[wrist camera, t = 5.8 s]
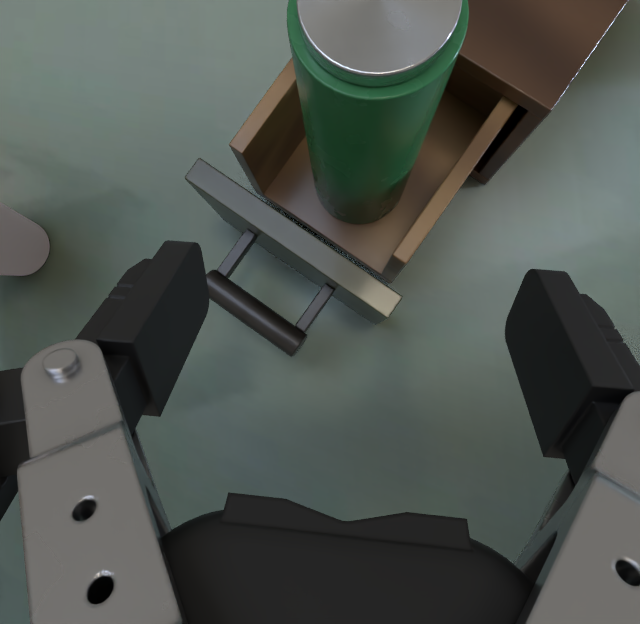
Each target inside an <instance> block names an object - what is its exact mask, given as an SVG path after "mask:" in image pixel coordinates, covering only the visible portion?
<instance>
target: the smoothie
mask: <svg viewBox="0 0 640 624" xmlns="http://www.w3.org/2000/svg"><path fill="white" fill-rule="evenodd" d="M49 250H50V243H49V239H48V236H47V234H46V232H45V231H44V229H43V228H42V227H41V226H39V225H38V224H36V223H35V222H33V221H31V220H30V219H28V218H26V217H24V216H23V215H21V214H19V213H18V212H16V211H14V210H13V209H11V208H9V207H8V206H6V205H4V204H3V203H1V202H0V275H11V276H26V275H30V274H32V273H34V272H36V271H37V270H39V269H40V268H41V267H42V266H43V264H44V263H45V261H46V260H47V257H48V255H49Z"/></svg>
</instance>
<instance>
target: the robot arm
mask: <svg viewBox="0 0 640 624" xmlns="http://www.w3.org/2000/svg"><path fill="white" fill-rule="evenodd" d="M108 296H109V298H106V299H105V300H104V302H103V303H102V304H101V306H100V307H99V308H98V310H97V311H96V312H95V314H94V315H93V316H92V318H91V319H90V320H89V322H88V323H87V324H86V325H85V327H84V328H83V329H82V331H81V332H80V333H79V335H78V336H77V337H76V339H75V340H67V341H62V342H59V343H56V344H53V345H50V346H48V347H46V348H44V349H43V350H41V351H40V352H38V353H37V354H35V355H34V356H33V357H32V358H31V359H30V360H29V361H28V362H27V363H26V365H25V366H24V368H17V369H11V370H4V371H0V521H1V519H2V517H3V516H4V514H5V512H6V510H7V509H8V507H9V505H10V504H11V502H12V500H13V499H14V497H15V495H16V494H17V492H19V503H20V514H21V525H22V536H23V547H24V558H25V569H26V580H27V591H28V602H29V613H30V624H640V366H639V364H638V363H637V361H636V359H635V358H634V356H633V355H632V353H631V351H630V350H629V348H628V347H627V345H626V343H623V339H622V337H621V335H620V334H619V332H618V331H617V329H614V327H615V326H614V324H613V323H612V321H611V319H610V318H609V316H608V315H607V313H606V311H605V310H604V309H603V308H602V307H601V306H600V305H598V304H597V303H596V302H595V301H594V300H592V299H591V298H590V297H589V296H588V295H586V294H579V292H578V290H577V288H576V287H575V285H574V283H573V282H572V280H571V278H570V276H569V275H568V273H566V272H564V271H552V270H539V269H530V270H529V271H528V272H527V273H526V275H525V277H524V279H523V281H522V284H521V286H520V288H519V291H518V293H517V296H516V298H515V300H514V303H513V305H512V308H511V310H510V312H509V315H508V317H507V321H506V326H505V339H506V343H507V346H508V349H509V352H510V356H511V359H512V362H513V365H514V368H515V371H516V374H517V377H518V380H519V383H520V386H521V389H522V392H523V395H524V398H525V401H526V405H527V408H528V411H529V414H530V417H531V420H532V423H533V426H534V429H535V432H536V435H537V438H538V441H539V444H540V447H541V451H542V454H543V457H551V458H561V459H565V460H566V462H567V465H568V468H569V469H568V470H567V472H566V473H565V474H564V476H563V477H562V479H561V481H560V483H559V485H558V487H557V489H556V491H555V493H554V494H553V496H552V498H551V500H550V502H549V504H548V506H547V508H546V510H545V512H544V513H543V515H542V517H541V519H540V521H539V523H538V525H537V527H536V529H535V531H534V532H533V534H532V536H531V538H530V540H529V541H528V543H527V545H526V546H525V548H524V549H523V551H522V552H521V554H520V555H519V557H518V558H517V560H516V561H515V563H514V564H513V563H512V562H510V561H509V560H508V559H507V558H505V557H504V556H502V555H501V554H499V553H498V552H496V551H495V550H493V549H492V548H490V547H488V546H486V545H484V544H482V543H480V542H478V541H476V540H474V539H471V538H470V536H469V530H468V523H467V519H463V518H454V517H445V516H436V515H427V514H418V513H409V512H405V513H399V514H393V515H387V516H380V517H374V518H368V519H361V520H355V521H341V520H338V519H336V518H333V517H330V516H328V515H325V514H323V513H320V512H318V511H315V510H313V509H310V508H307V507H305V506H302V505H300V504H297V503H295V502H292V501H290V500H287V499H282V498H273V497H264V496H254V495H245V494H236V493H228V497H227V500H226V504H225V508H224V510H220V511H215V512H211V513H208V514H204V515H201V516H199V517H196V518H194V519H192V520H189V521H187V522H185V523H183V524H182V525H180V526H178V527H176V528H174V529H173V530H172V528H171V526H170V523H169V521H168V518H167V515H166V513H165V510H164V508H163V505H162V503H161V500H160V497H159V494H158V491H157V488H156V485H155V483H154V480H153V477H152V474H151V471H150V468H149V465H148V462H147V459H146V456H145V453H144V450H143V447H142V444H141V441H140V438H139V435H138V432H137V430H136V426H137V424H138V422H139V420H140V418H141V416H142V415H149V416H159V417H160V416H161V414H162V411H163V409H164V407H165V405H166V403H167V400H168V398H169V396H170V394H171V392H172V390H173V387H174V385H175V383H176V381H177V379H178V376H179V374H180V372H181V370H182V368H183V365H184V363H185V361H186V359H187V357H188V354H189V352H190V350H191V348H192V346H193V343H194V341H195V339H196V337H197V335H198V333H199V330H200V328H201V326H202V324H203V322H204V319H205V317H206V315H207V312H208V307H209V289H208V284H207V279H206V273H205V268H204V262H203V257H202V252H201V248H200V246H199V244H198V243H195V242H182V241H169V240H168V241H165V242H164V243H163V245H162V246H161V247H160V249H159V250H158V252H157V253H156V255H155V256H154V257H153V259H144V260H142V261H141V262H139V263H138V264H136V265H135V266H133V267H131V268H130V269H128V270H127V272H126V273H125V274H124V275H123V277H122V278H121V279H120V281H119V282H118V283H117V287H114V289H113V290H112V291H111V293H110V294H109V295H108Z"/></svg>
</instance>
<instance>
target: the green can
mask: <svg viewBox="0 0 640 624" xmlns="http://www.w3.org/2000/svg"><path fill="white" fill-rule="evenodd" d="M468 20H469V6H468V0H289V2H288V8H287V28H288V35H289V41H290V47H291V53H292V58H293V64H294V70H295V76H296V82H297V87H298V93H299V99H300V105H301V110H302V116H303V122H304V128H305V133H306V139H307V145H308V151H309V157H310V162H311V168H312V174H313V180H314V185H315V190H316V194H317V197H318V199H319V201H320V203H321V204H322V206H323V207H324V208H325V209H326V211H327V212H328V213H330V214H331V215H332V216H334V217H335V218H337V219H339V220H341V221H344V222H347V223H352V224H367V223H371V222H374V221H377V220H379V219H381V218H383V217H385V216H386V215H387V214H389V213H390V212H391V211H392V210H393V209H394V208H395V206H396V205H397V204H398V202H399V200H400V198H401V196H402V194H403V191H404V189H405V186H406V184H407V181H408V179H409V176H410V174H411V171H412V169H413V166H414V164H415V161H416V159H417V156H418V154H419V151H420V149H421V146H422V144H423V141H424V139H425V137H426V134H427V132H428V129H429V127H430V124H431V122H432V119H433V117H434V114H435V112H436V109H437V107H438V104H439V102H440V99H441V97H442V94H443V92H444V89H445V87H446V84H447V82H448V79H449V77H450V74H451V72H452V69H453V67H454V64H455V62H456V59H457V57H458V54H459V52H460V49H461V47H462V44H463V42H464V39H465V35H466V32H467V27H468Z"/></svg>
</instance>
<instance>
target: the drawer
mask: <svg viewBox="0 0 640 624" xmlns="http://www.w3.org/2000/svg"><path fill="white" fill-rule="evenodd" d="M517 106H518V104H517V103H515V102H513V101H512V100H510V99H509V98H507V97H505V96H504V95H502V94H500V93H499V92H497V91H496V90H494V89H492V88H491V87H489V86H488V85H486V84H484V83H483V82H481V81H479V80H478V79H476V78H475V77H473V76H471V75H470V74H468V73H467V72H465V71H463V70H462V69H460V68H459V67H457V66H455V65H454V67H453V69H452V72H451V74H450V77H449V79H448V82H447V84H446V87H445V89H444V92H443V94H442V97H441V99H440V102H439V104H438V107H437V109H436V112H435V114H434V117H433V119H432V122H431V124H430V127H429V129H428V132H427V134H426V137H425V139H424V141H423V144H422V146H421V149H420V151H419V154H418V156H417V159H416V161H415V164H414V166H413V169H412V171H411V174H410V176H409V179H408V181H407V184H406V186H405V189H404V191H403V194H402V196H401V198H400V200H399V202H398V204H397V205H396V206H395V208H394V209H393V210H392V211H391V212H390V213H389V214H387V215H386V216H385V217H383V218H381V219H379V220H377V221H374V222H371V223H367V224H352V223H347V222H344V221H341V220H339V219H337V218H335V217H334V216H332V215H331V214H330V213H328V212H327V211H326V209H325V208H324V207H323V206H322V204H321V203H320V201H319V199H318V197H317V194H316V190H315V185H314V180H313V174H312V168H311V162H310V157H309V151H308V145H307V139H306V133H305V128H304V122H303V116H302V110H301V105H300V99H299V93H298V87H297V82H296V76H295V70H294V64H293V58H291V59H290V61H289V62H288V64H287V65H286V66H285V68H284V69H283V71H282V72H281V73H280V75H279V76H278V77H277V79H276V80H275V82H274V83H273V84H272V86H271V87H270V88H269V90H268V91H267V93H266V94H265V95H264V97H263V98H262V99H261V101H260V102H259V104H258V105H257V106H256V108H255V109H254V111H253V112H252V113H251V115H250V116H249V117H248V119H247V120H246V122H245V123H244V124H243V126H242V127H241V128H240V130H239V131H238V133H237V134H236V135H235V137H234V138H233V140H232V141H231V142H230V144H229V146H230V147H231V149H232V151H233V153H234V154H235V156H236V158H237V160H238V161H239V163H240V165H241V167H242V169H243V170H244V172H245V174H246V176H247V177H248V179H249V181H250V183H251V184H252V186H253V188H254V189H255V191H256V193H258V194H259V195H261V196H262V197H264V198H265V199H267V200H268V201H270V202H271V203H273V204H274V205H275V206H277V207H278V208H280V209H281V210H283V211H284V212H286V213H287V214H289V215H290V216H292V217H293V218H295V219H296V220H297V221H299V222H300V223H302V224H303V225H305V226H306V227H308V228H309V229H311V230H312V231H314V232H315V233H316V234H318V235H319V236H321V237H322V238H324V239H325V240H327V241H328V242H330V243H331V244H333V245H334V246H336V247H337V248H338V249H340V250H341V251H343V252H344V253H346V254H347V255H349V256H350V257H352V258H353V259H355V260H356V261H358V262H359V263H360V264H362V265H363V266H365V267H366V268H368V269H369V270H371V271H372V272H374V273H375V274H377V275H378V276H380V277H381V278H382V279H384V280H385V281H387V282H388V283H390V284H391V283H392V282H393V280H394V279H395V278H396V277H397V275H398V274H399V273H400V272H401V270H402V269H403V268H404V267H405V265H406V264H407V263H408V261H409V260H410V259H411V257H412V256H413V254H414V253H415V251H416V250H417V249H418V247H419V246H420V244H421V243H422V241H423V240H424V239H425V237H426V236H427V234H428V233H429V231H430V230H431V229H432V227H433V226H434V224H435V223H436V221H437V220H438V219H439V217H440V216H441V214H442V213H443V211H444V210H445V209H446V207H447V206H448V204H449V203H450V201H451V200H452V199H453V197H454V196H455V194H456V193H457V191H458V190H459V189H460V187H461V186H462V184H463V183H464V181H465V180H466V179H467V177H468V176H469V174H470V173H471V171H472V170H473V169H474V167H475V166H476V164H477V163H478V161H479V160H480V159H481V157H482V156H483V154H484V153H485V151H486V150H487V149H488V147H489V146H490V144H491V143H492V141H493V140H494V139H495V137H496V136H497V134H498V133H499V131H500V130H501V129H502V127H503V126H504V124H505V123H506V121H507V120H508V119H509V117H510V116H511V114H512V113H513V111H514V110H515V109H516V107H517ZM185 179H186V180H187V181H188V182H189V184H190V185H191V186H192V187H193V188H194V189H195V190H196V191H197V192H198V193H199V194H200V195H201V196H202V197H203V198H204V199H205V200H206V201H207V202H208V204H209V205H210V206H211V207H212V208H213V209H214V210H215V211H216V212H217V213H218V214H219V215H220V216H221V217H222V218H223V219H224V220H225V221H226V222H227V223H229V224H230V225H232V226H233V227H235V228H236V229H238V230H239V231H240V232H242V233H243V234H242V236H241V237H240V239H239V240H238V241H237V243H236V244H235V246H234V247H233V248H232V250H231V251H230V253H229V254H228V255H227V257H226V258H225V260H224V261H223V262H222V264H221V265H220V267H219V268H218V269H217V270H212V271H210V272H209V273H208V274H207V275H206V279H207V284H208V289H209V298H210V299H211V300H212V301H214V302H215V303H217V304H218V305H219V306H221V307H222V308H224V309H225V310H226V311H228V312H229V313H231V314H232V315H233V316H235V317H236V318H238V319H239V320H240V321H242V322H243V323H245V324H246V325H247V326H249V327H250V328H252V329H253V330H254V331H256V332H257V333H258V334H260V335H261V336H263V337H264V338H265V339H267V340H268V341H270V342H271V343H272V344H274V345H275V346H277V347H278V348H279V349H281V350H282V351H284V352H285V353H286V354H288V355H289V356H291V357H293V356H294V355H295V354H296V353H297V351H298V350H299V349H300V347H301V346H302V344H303V343H304V341H305V340H306V338H307V334H306V333H304V332H306V331H307V330H308V328H309V327H310V325H311V324H312V323H313V321H314V320H315V318H316V317H317V316H318V314H319V313H320V311H321V310H322V308H323V307H324V306H325V304H326V303H327V301H328V300H329V299H330V297H331V296H332V295H333V296H334V297H335V298H337V299H338V300H340V301H341V302H343V303H344V304H345V305H347V306H348V307H350V308H351V309H353V310H354V311H356V312H357V313H358V314H360V315H361V316H363V317H364V318H366V319H367V320H369V321H370V322H371V323H373V324H374V325H377V324H379V323H380V322H382V321H384V320H386V319H387V318H389V316H390V315H391V314H392V312H393V311H394V309H395V308H396V306H397V305H398V304H399V302H400V301H401V299H402V296H401V295H400V294H398V293H397V292H395V291H394V290H393V289H391V288H390V287H388V286H387V285H385V284H384V283H382V282H381V281H379V280H378V279H376V278H375V277H373V276H372V275H371V274H369V273H368V272H366V271H365V270H363V269H362V268H360V267H359V266H357V265H356V264H354V263H353V262H352V261H350V260H349V259H347V258H346V257H344V256H343V255H341V254H340V253H338V252H337V251H335V250H334V249H333V248H331V247H330V246H328V245H327V244H325V243H324V242H322V241H321V240H319V239H318V238H316V237H315V236H313V235H312V234H311V233H309V232H308V231H306V230H305V229H303V228H302V227H300V226H299V225H297V224H296V223H294V222H293V221H292V220H290V219H289V218H287V217H286V216H284V215H283V214H281V213H280V212H278V211H277V210H275V209H274V208H272V207H271V206H270V205H268V204H267V203H265V202H264V201H262V200H261V199H259V198H258V197H256V196H255V195H253V194H252V193H251V192H249V191H248V190H246V189H245V188H243V187H242V186H240V185H239V184H237V183H236V182H234V181H233V180H232V179H230V178H229V177H227V176H226V175H224V174H223V173H221V172H220V171H218V170H217V169H215V168H214V167H212V166H211V165H210V164H208V163H207V162H205V161H204V160H202V159H201V158H198V160H197V161H196V162H195V164H194V165H193V167H192V168H191V169H190V171H189V172H188V173H187V175H186V176H185ZM254 242H256V243H258V244H259V245H261V246H262V247H263V248H265V249H266V250H268V251H269V252H271V253H272V254H274V255H275V256H276V257H278V258H279V259H281V260H282V261H284V262H285V263H286V264H288V265H289V266H291V267H292V268H294V269H295V270H297V271H298V272H299V273H301V274H302V275H304V276H305V277H307V278H308V279H310V280H311V281H312V282H314V283H315V284H317V285H318V286H320V287H321V290H320V291H319V292H318V294H317V295H316V297H315V298H314V300H313V301H312V302H311V304H310V305H309V307H308V308H307V309H306V311H305V312H304V314H303V315H302V317H301V318H300V319H299V321H298V322H297V324H296V326H294V325H293V324H291V323H290V322H289V321H287V320H286V319H284V318H283V317H282V316H280V315H279V314H277V313H276V312H275V311H273V310H272V309H270V308H269V307H267V306H266V305H265V304H263V303H262V302H260V301H259V300H258V299H256V298H255V297H253V296H252V295H251V294H249V293H248V292H246V291H245V290H243V289H242V288H241V287H239V286H238V285H236V284H235V283H234V282H232V281H231V280H229V279H228V278H229V277H230V275H231V274H232V273H233V271H234V270H235V269H236V267H237V266H238V264H239V263H240V262H241V260H242V259H243V257H244V256H245V255H246V253H247V252H248V250H249V249H250V248H251V246H252V245H253V243H254Z"/></svg>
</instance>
